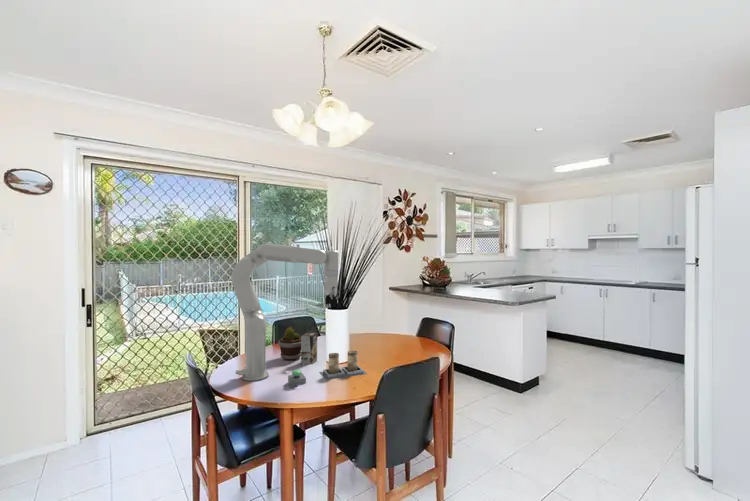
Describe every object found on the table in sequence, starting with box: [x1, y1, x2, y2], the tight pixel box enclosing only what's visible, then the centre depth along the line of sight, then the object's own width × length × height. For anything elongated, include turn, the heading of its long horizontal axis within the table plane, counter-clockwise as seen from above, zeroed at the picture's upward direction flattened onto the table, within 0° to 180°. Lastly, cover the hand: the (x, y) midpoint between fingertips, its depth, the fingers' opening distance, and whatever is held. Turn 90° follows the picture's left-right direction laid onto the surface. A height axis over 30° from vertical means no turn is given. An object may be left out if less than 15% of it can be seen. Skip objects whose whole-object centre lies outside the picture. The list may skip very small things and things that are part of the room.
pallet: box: [318, 364, 368, 381], centre depth 183 cm, size 22×12×3 cm, turn 113°
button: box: [291, 369, 303, 378], centre depth 171 cm, size 4×4×4 cm
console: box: [287, 373, 307, 389], centre depth 171 cm, size 7×7×4 cm
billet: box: [347, 350, 358, 372], centre depth 186 cm, size 5×5×10 cm
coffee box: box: [300, 332, 318, 366], centre depth 204 cm, size 9×6×16 cm
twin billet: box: [328, 352, 340, 374], centre depth 181 cm, size 5×5×10 cm
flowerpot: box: [277, 326, 301, 362], centre depth 212 cm, size 14×15×20 cm
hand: (330, 305), depth 194 cm, fingers open, 9 cm apart
